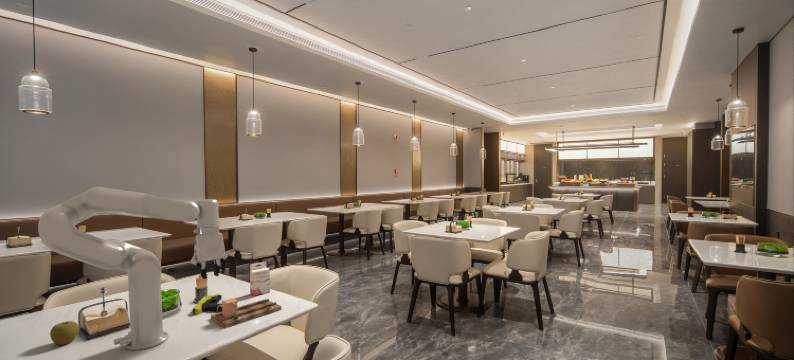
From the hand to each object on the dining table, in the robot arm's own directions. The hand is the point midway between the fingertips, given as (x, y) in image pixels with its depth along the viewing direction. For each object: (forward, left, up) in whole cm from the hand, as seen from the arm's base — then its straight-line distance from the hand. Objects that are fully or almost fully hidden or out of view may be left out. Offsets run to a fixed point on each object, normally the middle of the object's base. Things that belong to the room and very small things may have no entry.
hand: (210, 276), depth 143 cm
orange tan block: (+7, -2, -18) cm, 19 cm away
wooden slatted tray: (+14, 0, -19) cm, 24 cm away
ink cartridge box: (+31, +21, -19) cm, 42 cm away
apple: (-41, +26, -19) cm, 52 cm away
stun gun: (+9, +21, -20) cm, 30 cm away
